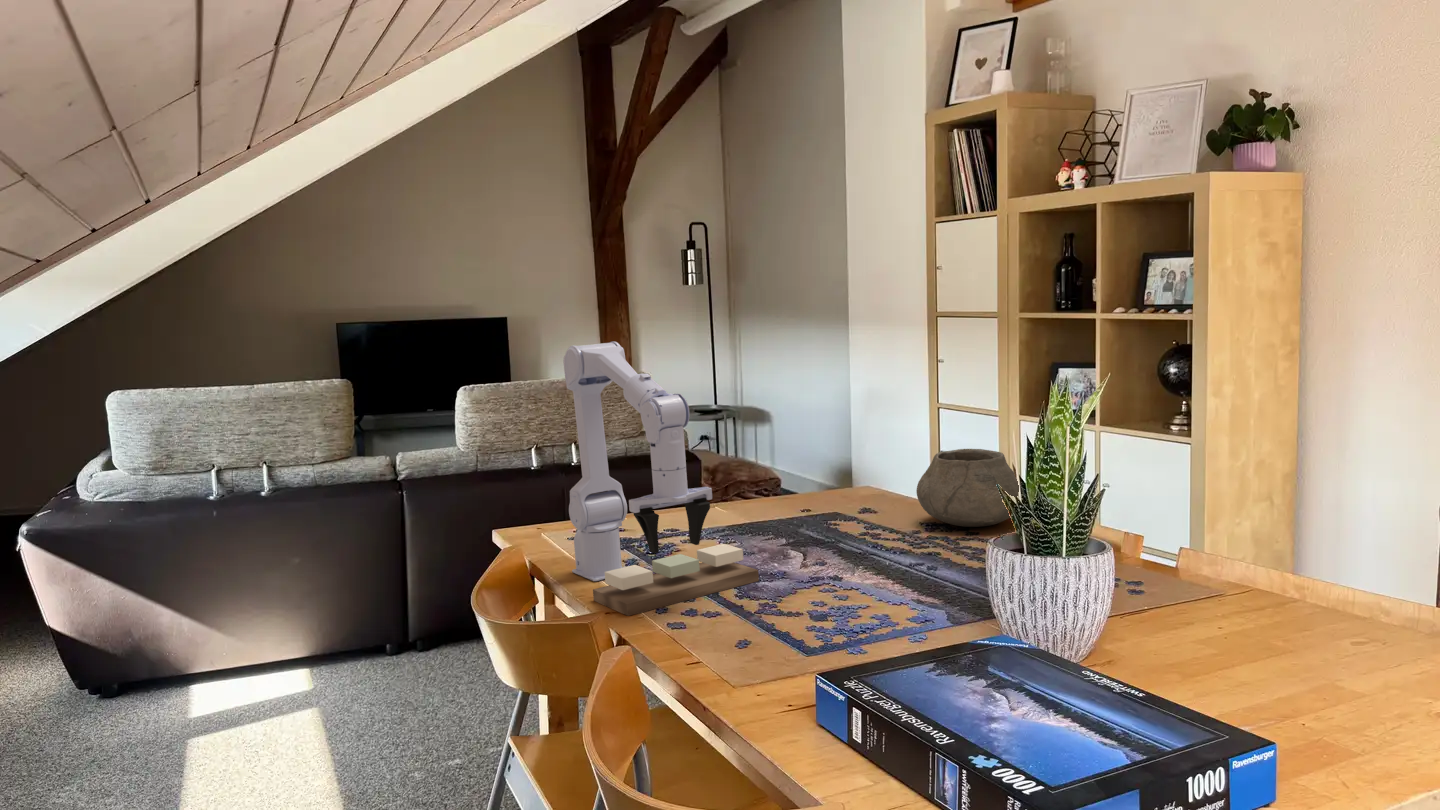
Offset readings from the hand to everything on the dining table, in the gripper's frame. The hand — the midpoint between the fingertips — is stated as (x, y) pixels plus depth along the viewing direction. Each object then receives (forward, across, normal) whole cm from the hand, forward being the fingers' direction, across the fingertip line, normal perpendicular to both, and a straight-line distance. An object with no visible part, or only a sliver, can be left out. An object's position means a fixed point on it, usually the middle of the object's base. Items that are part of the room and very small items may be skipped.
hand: (674, 547), depth 174 cm
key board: (+10, +4, +8) cm, 13 cm away
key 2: (+6, +13, +9) cm, 17 cm away
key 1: (+6, -6, +7) cm, 11 cm away
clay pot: (+10, +73, +8) cm, 74 cm away
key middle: (+6, +4, +8) cm, 11 cm away
